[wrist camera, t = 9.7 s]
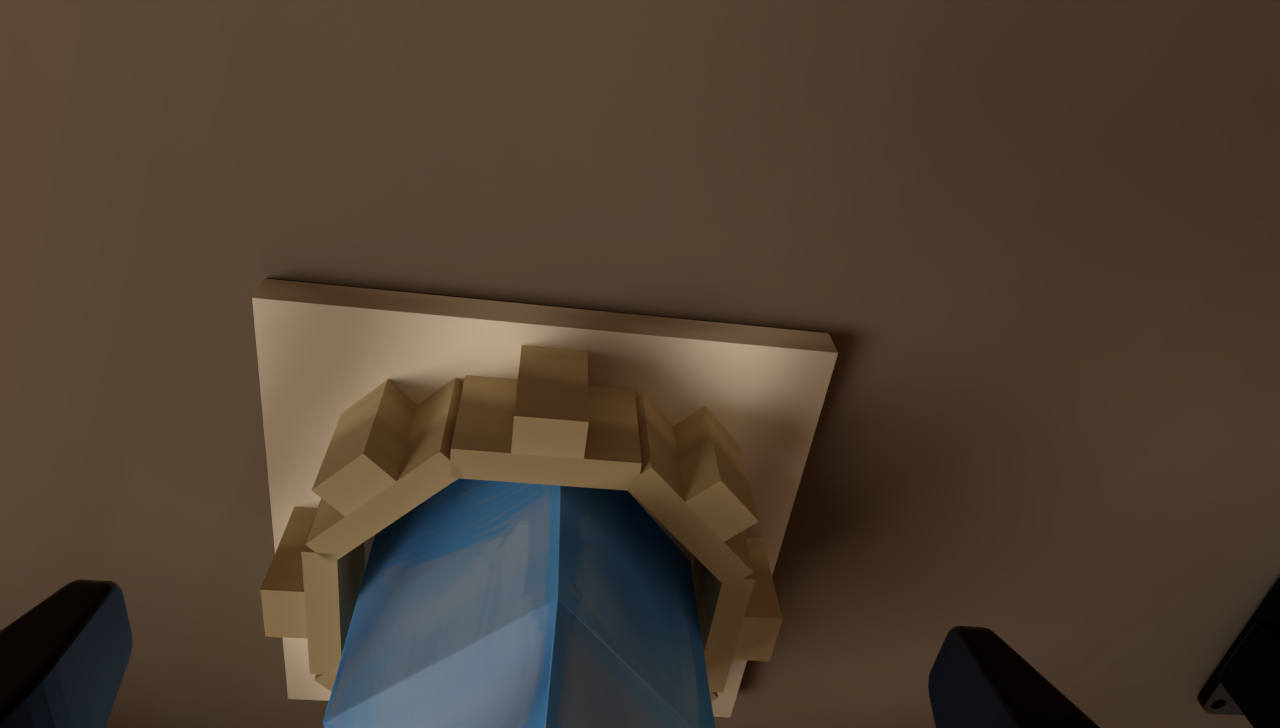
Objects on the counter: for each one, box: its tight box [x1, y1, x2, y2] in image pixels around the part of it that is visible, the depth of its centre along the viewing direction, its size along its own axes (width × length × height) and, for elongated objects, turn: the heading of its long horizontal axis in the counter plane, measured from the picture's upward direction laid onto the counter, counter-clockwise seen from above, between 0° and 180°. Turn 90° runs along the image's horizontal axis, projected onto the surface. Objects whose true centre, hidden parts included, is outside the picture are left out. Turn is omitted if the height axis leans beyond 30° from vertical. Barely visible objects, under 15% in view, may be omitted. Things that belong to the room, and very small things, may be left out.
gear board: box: [252, 279, 838, 717], centre depth 24 cm, size 14×14×4 cm
